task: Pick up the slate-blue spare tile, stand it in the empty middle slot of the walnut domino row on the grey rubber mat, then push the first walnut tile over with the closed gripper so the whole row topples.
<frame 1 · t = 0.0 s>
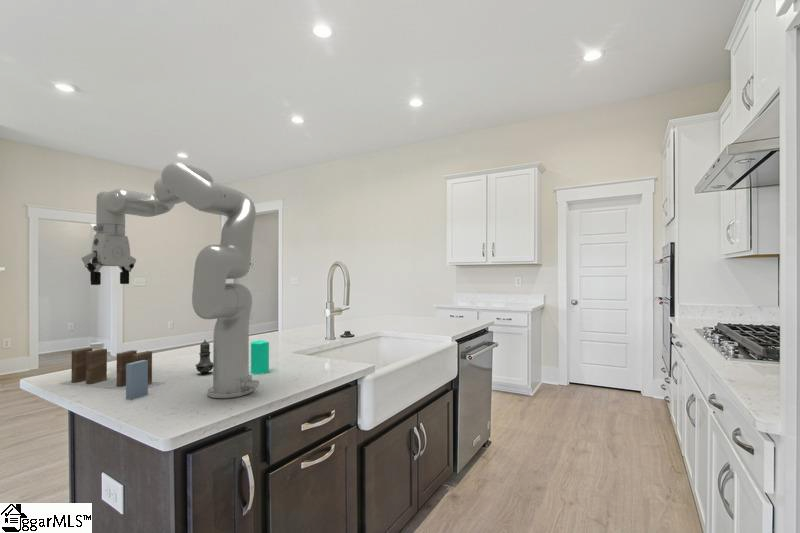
hand: (110, 284, 128), 31 cm above the worktop, tool pointing down, fingers open, 9 cm apart
supplement bottle: (96, 372, 141), on the worktop
tile 2: (126, 384, 123), resting on mat
tile 1: (142, 385, 122), resting on mat
mat: (111, 384, 125), on the worktop
tile 5: (82, 380, 128), resting on mat
slate tile: (136, 398, 111), on the worktop
tile 4: (96, 381, 126), resting on mat
candle: (259, 372, 140), on the worktop
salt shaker: (204, 375, 136), on the worktop
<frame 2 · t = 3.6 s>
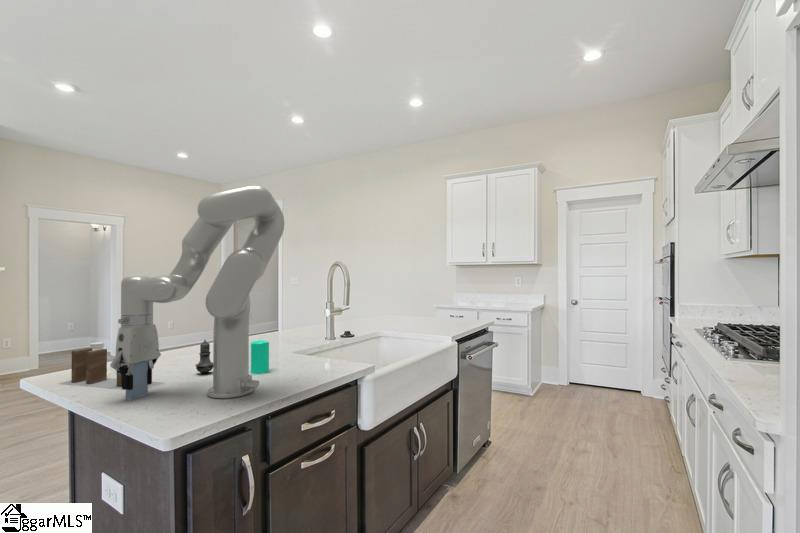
hand: (136, 385, 111), 3 cm above the worktop, tool pointing down, fingers closed on slate tile, 5 cm apart
slate tile: (136, 398, 111), on the worktop, touching gripper
everything else where it was.
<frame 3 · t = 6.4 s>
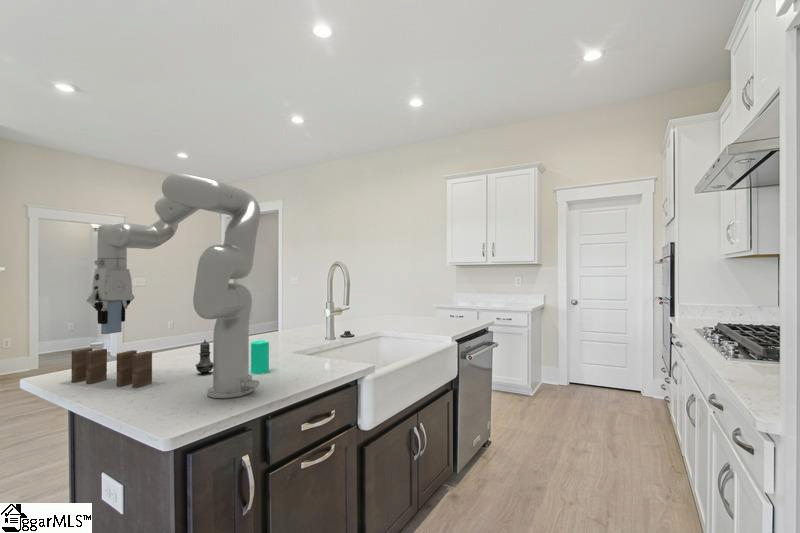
hand: (111, 321, 125), 20 cm above the worktop, tool pointing down, fingers closed on slate tile, 5 cm apart
slate tile: (111, 332, 125), point 16 cm above the worktop, touching gripper
everything else where it was.
when the fingers open (5 cm above the worktop, at t = 9.5 s): slate tile stays where it is, resting on mat.
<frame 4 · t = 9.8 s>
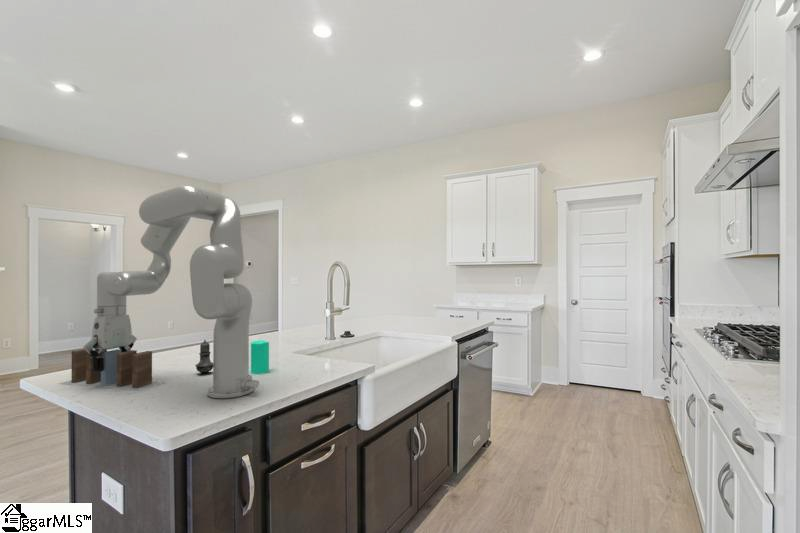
hand: (111, 367, 125), 5 cm above the worktop, tool pointing down, fingers open, 7 cm apart
slate tile: (111, 383, 125), resting on mat
everything else where it was.
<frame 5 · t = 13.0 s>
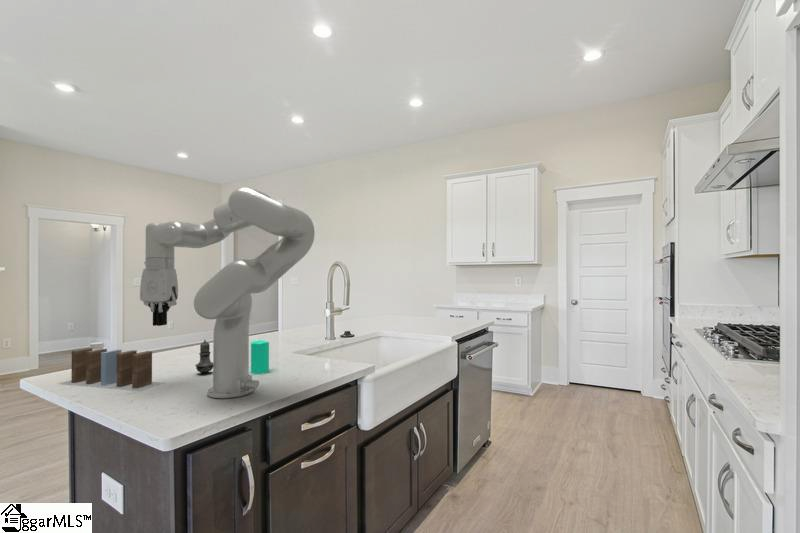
hand: (159, 325, 120), 19 cm above the worktop, tool pointing down, fingers closed
nothing on the worktop moved.
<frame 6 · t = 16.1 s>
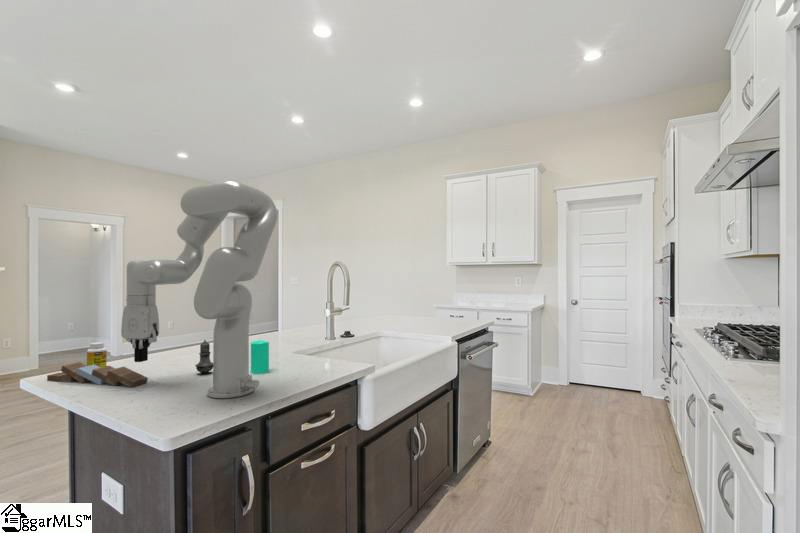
hand: (141, 361, 122), 8 cm above the worktop, tool pointing down, fingers closed
tile 2: (124, 381, 124), point 1 cm above the worktop, tilted 73°, touching mat, slate tile, tile 1
tile 1: (139, 382, 122), point 1 cm above the worktop, tilted 73°, touching mat, tile 2
tile 5: (79, 377, 128), point 1 cm above the worktop, tilted 91°, touching mat, tile 4
slate tile: (108, 380, 125), point 1 cm above the worktop, tilted 73°, touching mat, tile 2, tile 4
tile 4: (92, 378, 127), point 1 cm above the worktop, tilted 70°, touching mat, slate tile, tile 5
everything else where it was.
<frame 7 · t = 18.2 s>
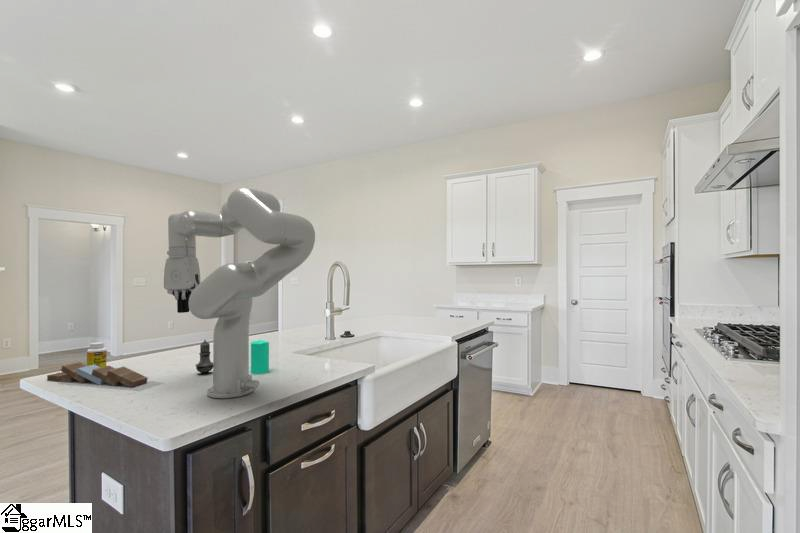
hand: (183, 312, 125), 22 cm above the worktop, tool pointing down, fingers closed
nothing on the worktop moved.
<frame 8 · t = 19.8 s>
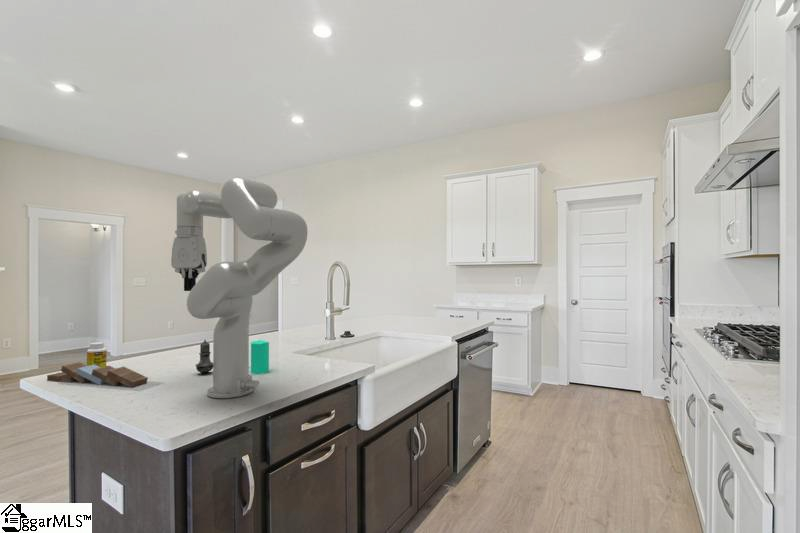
hand: (189, 290, 127), 29 cm above the worktop, tool pointing down, fingers closed
nothing on the worktop moved.
at the end: tile 5 tilted 91°; slate tile tilted 73°; slate tile 1.0 cm from the mat (horizontally) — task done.
